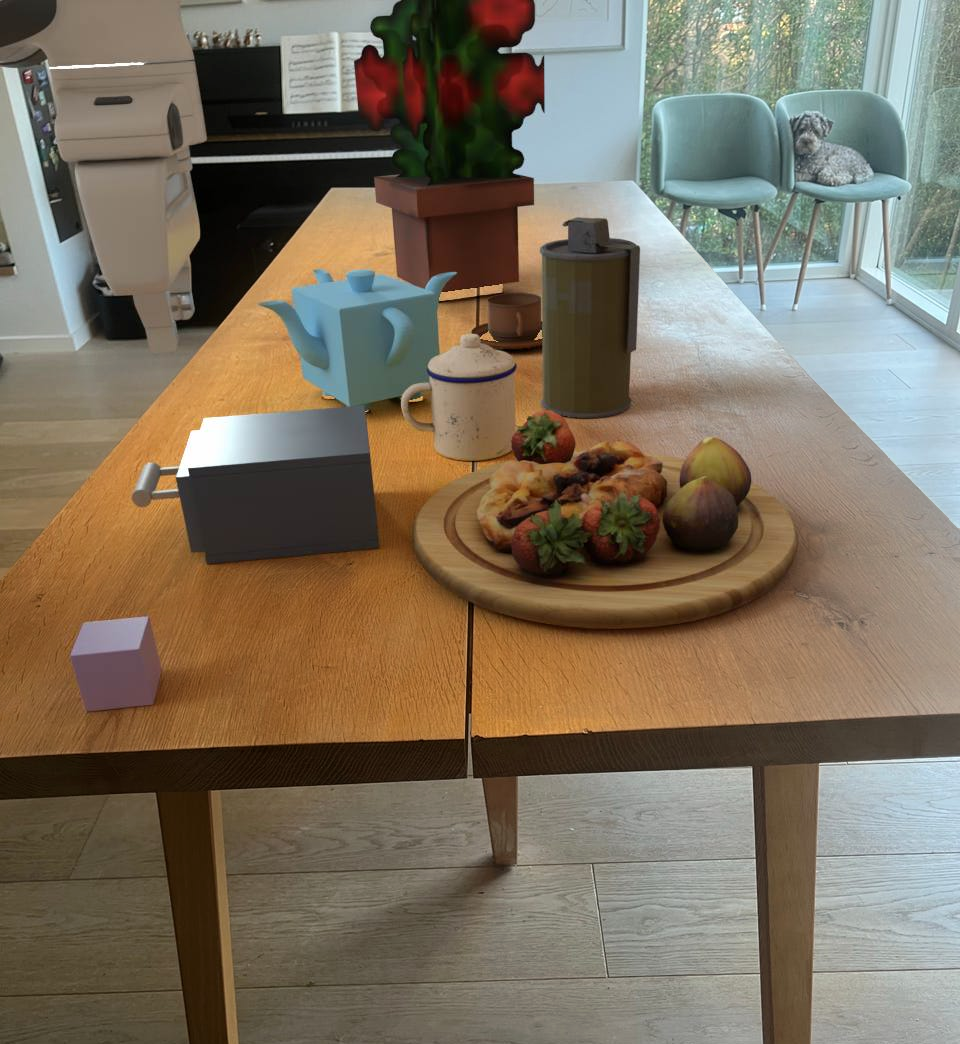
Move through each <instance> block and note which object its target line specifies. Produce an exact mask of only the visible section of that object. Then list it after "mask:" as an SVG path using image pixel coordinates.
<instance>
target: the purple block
mask: <svg viewBox="0 0 960 1044" xmlns="http://www.w3.org/2000/svg"><path fill="white" fill-rule="evenodd" d="M69 658H70V661H71V665H72V668H73V672H74V675H75V679H76V682H77V686H78V689H79V690H78V691H79V692H80V696H81V700H82V703H83V707H84V710H85V712H86V713H88V712H98V711H107V710H117V709H126V708H137V707H145V706H153V705H154V703H155V699H156V695H157V691H158V687H159V683H160V679H161V676H162V671H163V669H162V664H161V661H160V660H161V659H160V656H159V652H158V647H157V643H156V639H155V635H154V630H153V627H152V622H151V618H150V616H138V617H129V618H128V617H127V618H118V619H108V620H97V621H86V622H83V623H82V626H81V628H80V630H79V632H78V635H77V637H76V640H75V643H74V645H73V648H72V650H71V652H70V654H69Z"/></svg>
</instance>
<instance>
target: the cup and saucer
mask: <svg viewBox="0 0 960 1044" xmlns="http://www.w3.org/2000/svg"><path fill="white" fill-rule="evenodd" d="M486 306H487V307H486V308H487V322H486V323H483V324H480V325H477V326H475V327H474V328H472V329H471V332H470V334H477V335H479V337H481V336H482V335H483V334H485V333H487V332H488V331H489V333H490V334H491V336H492V337H493V339H494V340H496V341H498V342H496V341H488V340H483V339H480V343H481V344H486V345H488V346H490V347H492V348H493V349H495V348H502V349H501V350H504V349H519V350H522V349H521V348H528V349H531V348H530V347H534V348H537V347H536V346H538V347H540V345H541V346H543V338H542V339H538V340H534V339H535V338H536V337H537V335H538V333H539V332H540V330H542V296H540V295H538V294H535V293H528V292H507V293H502V294H495V295H490V297H487V299H486Z"/></svg>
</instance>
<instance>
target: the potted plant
mask: <svg viewBox="0 0 960 1044" xmlns="http://www.w3.org/2000/svg"><path fill="white" fill-rule="evenodd" d="M535 23H536V3H535V0H398V1H396V2H395V3H394V5H393V7H392V12H391V13H390V15H378V16H377V15H376V17H373V18H372V20H371V22H370V27H369V29H370V31H371V34H372V36H373V37H375V38H378V39H380V40H381V41H382V48H383V49H382V51H383V55H382V56H381V55H380V53H379V50H378V48H377V47H376V46H375V45H373V44H370V43H369V44H366V45H365V46H364V47H363V48H362V49H361V53H360V57H359V58H357V59H355V60H353V64H354V65H353V67H354V68H353V69H354V79H355V80H354V81H355V89H356V90H355V91H356V100H357V113H358V117H359V118H360V119H362V120H364V121H366V123H367V127H368V128H369V129H370V130H371V131H373V132H376V133H377V132H380V131H381V130H382V129H384V126H385V122H386V120H391V119H392V120H393V119H394V120H396V119H397V120H398V121H399V122H398V123H396V124H394V125H392V126H391V128H390V131H389V136H390V139H391V140H392V142H394V143H395V144H397V145H400V146H401V147H400V148H398V149H396V150H394V151H393V153H392V156H391V162H392V164H393V166H394V167H395V168H397V169H398V170H401V171H402V173H400V174H399V173H398V174H390V175H381V176H379V175H378V176H374V177H373V180H374V182H373V183H374V191H375V192H374V193H375V203H377V204H379V205H381V206H384V207H386V208H387V207H388V208H391V216H392V217H391V219H392V229H393V243H394V244H393V245H394V255H395V266H396V267H395V268H396V269H395V270H396V277H397V278H399V279H401V280H402V281H404V282H406V283H409V284H412V285H414V286H417V287H420V288H423V289H425V288H426V286H427V284H428V282H429V281H430V280H431V278H432V277H434V276H436V275H438V274H443V273H448V272H457V274H456V275H455V276H453V277H452V278H451V279H450V280H449V281H448V282H447V283H446V284H445V286H444V287H443V289H442V291H441V292H448V291H455V290H462V289H470V288H478V287H484V286H492V285H499V284H503V285H505V284H513V283H519V282H520V260H519V259H520V257H519V208H520V207H528V206H529V207H530V206H535V177H532V176H527V175H523V174H518V173H514V172H515V170H516V171H517V170H518V169H520V168H522V167H523V165H524V163H525V156H524V153H523V152H522V151H521V150H520V149H516V148H514V146H513V132H514V131H517V130H519V129H521V127H523V124H524V121H525V119H526V118H528V117H530V116H532V115H533V114H534V113H535V111H536V107H537V105H538V104H539V105H540V107H541V108H540V109H541V111H542V113H543V114H545V111H546V109H545V107H546V105H545V104H546V103H545V101H546V98H545V97H546V96H545V94H546V93H545V91H546V90H545V88H546V87H545V84H546V83H545V55H543V56H542V57H541V59H540V64H537V63H536V60H535V57H534V56H533V55H532V54H531V53H529V52H500V51H499V50H500V49H502V48H515V47H517V46H519V45H520V44H521V42H522V39H523V35H524V34H525V33H527V32H529V31H531V30H532V29H533V27H534V26H535ZM414 38H415V40H416V41H414Z"/></svg>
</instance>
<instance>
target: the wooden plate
mask: <svg viewBox="0 0 960 1044" xmlns="http://www.w3.org/2000/svg"><path fill="white" fill-rule="evenodd" d="M511 443H512V446H511V447H512V450H511V451H512V452H513V454H514V457H515V458H514V459H510V460H506V461H502V462H499V463H495V464H491V465H487V466H485V467H483V468H480V469H477V470H475V471H472V472H469V473H467V474H465V475H463V476H460V477H458V478H456V479H454V480H453V481H451V482H449V483H447V484H446V485H444V486H443V487H441V488H440V489H439V490H437V491H436V492H435V493H434V494H433V495H431V496H430V497H429V499H427V500H426V502H425V503H424V504H423V505H422V507H420V509H419V511H418V513H417V515H416V516H415V518H414V519H415V520H414V522H413V525H412V534H411V535H412V536H411V540H412V546H413V550H414V553H415V555H416V558H417V560H418V561H419V564H421V566H422V567H423V569H424V571H426V573H427V574H428V575H429V576H430V577H431V578H432V580H434V581H435V582H436V583H438V584H439V585H440V586H442V587H443V588H445V589H446V590H448V591H449V592H451V593H452V594H454V595H456V596H457V597H459V598H462V599H463V600H464V601H465V600H466V601H468V602H470V603H472V604H474V605H476V606H478V607H481V608H484V609H486V610H489V611H492V612H496V613H498V614H501V615H505V616H509V617H513V618H517V619H522V620H526V621H531V622H535V623H541V624H548V625H554V626H561V627H569V628H570V627H571V628H581V629H595V630H596V629H613V630H614V629H615V630H616V629H617V630H618V629H619V630H620V629H638V628H639V629H640V628H641V629H642V628H652V627H661V626H662V627H663V626H669V625H677V624H683V623H689V622H694V621H698V620H702V619H705V618H711V617H713V616H717V615H721V614H723V613H725V612H729V611H732V610H735V609H736V608H740V607H743V606H744V605H747V604H748V603H750V602H751V601H753V600H755V599H757V598H759V597H760V596H762V595H764V594H765V593H767V592H768V591H770V590H771V589H772V588H774V587H775V586H776V585H777V584H778V583H779V582H780V581H781V580H782V579H783V578H784V577H785V576H786V574H787V573H788V571H789V570H790V569H791V567H792V566H793V563H794V561H795V558H796V555H797V552H798V545H799V538H798V532H797V527H796V525H795V522H794V519H793V518H792V516H791V514H790V513H789V511H788V510H787V508H785V506H783V504H782V503H781V502H780V501H779V500H778V499H777V498H776V497H775V496H773V495H772V494H771V493H769V491H768V490H766V489H764V488H763V487H761V486H760V485H758V484H756V483H754V482H753V481H752V474H751V470H750V467H749V466H748V464H747V463H746V460H745V459H744V458H743V457H742V455H741V454H740V453H739V451H738V450H737V449H735V448H734V447H733V446H731V445H730V444H729V443H727V442H726V441H724V440H722V439H720V438H718V437H713V436H710V435H708V436H707V437H704V438H703V439H701V441H700V442H699V443H698V444H697V445H696V446H695V447H693V449H692V450H691V451H690V452H689V453H688V455H687V456H686V457H685V458H681V457H676V456H670V455H663V454H657V453H650V452H649V453H648V452H642V451H641V449H640V448H639V447H637V446H636V445H634V444H633V443H631V442H629V441H624V440H620V439H618V440H617V441H616V442H614V443H613V444H612V446H611V445H610V443H609V441H602V442H600V443H598V444H597V445H595V446H593V447H591V448H589V449H587V450H576V446H577V445H576V438H575V436H574V434H573V432H572V431H571V429H570V426H569V424H568V423H567V420H566V419H565V417H564V416H561V415H559V414H556V413H555V412H553V411H552V410H545V409H544V410H539V411H537V412H535V413H533V414H532V415H531V416H527V418H526V421H525V422H524V423H523V425H516V433H515V434H514V435H513V437H512V440H511Z"/></svg>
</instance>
